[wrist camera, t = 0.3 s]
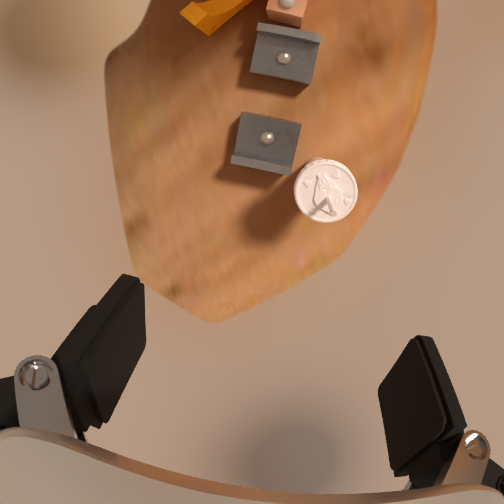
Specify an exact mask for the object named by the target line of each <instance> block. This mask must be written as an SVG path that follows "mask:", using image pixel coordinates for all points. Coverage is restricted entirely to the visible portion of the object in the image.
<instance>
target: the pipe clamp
mask: <svg viewBox="0 0 504 504" xmlns="http://www.w3.org/2000/svg"><path fill="white" fill-rule="evenodd" d="M252 1H253V0H209V1H206V2H203V3H195V2H193V1H192V2H191V3H190V4H189V5H187V6H186V7H185V8H184V9H183V10H182V11H181V12H180V14H181V15H183V16H184V17H185V18H186V19H187V20H188V21H190V22H191V23H192V24H193V25H194V26H196V27H197V28H198V29H200V30H201V31H202V32H204V33H205V34H206V35H208V36H210V35H211V34H212V33H213V32H214V31H216V30H217V29H218V28H219V27H220V26H221V25H223V24H224V23H225V22H226V21H227V20H229V19H230V18H231V17H232V16H234V15H235V14H236V13H237V12H239V11H240V10H241V9H242V8H244V7H245V6H246V5H248V4H249V3H250V2H252Z"/></svg>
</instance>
